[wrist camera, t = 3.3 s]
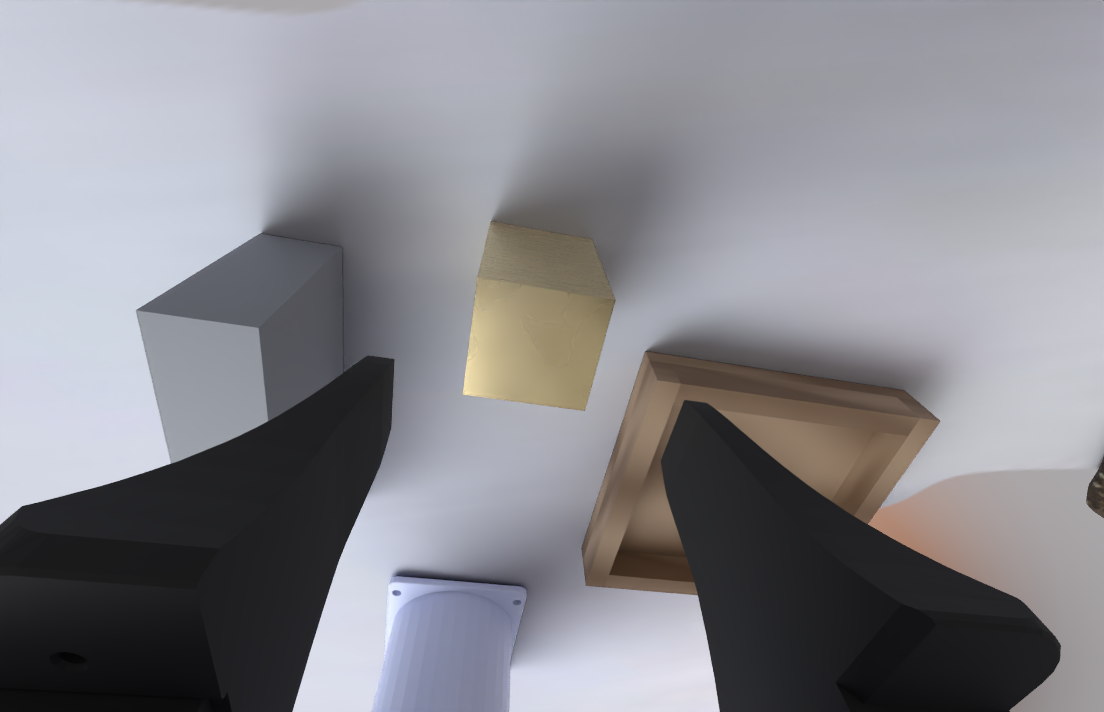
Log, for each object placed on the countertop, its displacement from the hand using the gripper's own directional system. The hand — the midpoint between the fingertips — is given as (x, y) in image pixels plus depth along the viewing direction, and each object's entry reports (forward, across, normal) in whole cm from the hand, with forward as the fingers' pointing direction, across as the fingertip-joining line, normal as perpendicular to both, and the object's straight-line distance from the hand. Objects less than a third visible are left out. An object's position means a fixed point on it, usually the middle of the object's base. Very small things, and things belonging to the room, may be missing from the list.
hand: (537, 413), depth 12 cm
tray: (+9, -12, +9) cm, 18 cm away
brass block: (+9, 0, 0) cm, 9 cm away
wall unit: (+9, +9, +7) cm, 15 cm away
